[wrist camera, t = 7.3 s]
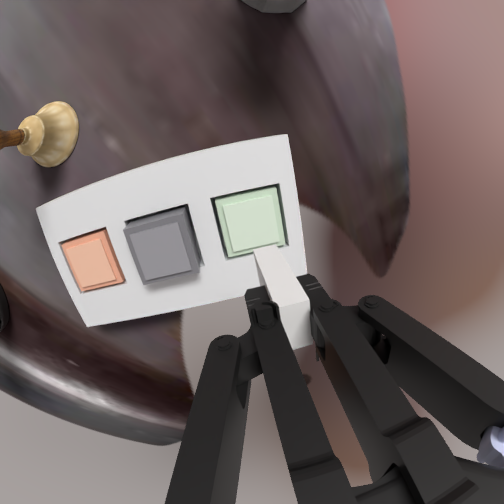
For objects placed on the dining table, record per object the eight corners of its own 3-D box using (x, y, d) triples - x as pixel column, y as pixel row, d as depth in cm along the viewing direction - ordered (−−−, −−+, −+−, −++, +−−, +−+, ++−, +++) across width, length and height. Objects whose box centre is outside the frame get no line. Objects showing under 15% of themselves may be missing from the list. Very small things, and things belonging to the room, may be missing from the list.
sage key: (227, 246, 31) (228, 258, 28) (214, 195, 28) (215, 201, 25) (278, 234, 31) (286, 245, 28) (270, 183, 29) (277, 188, 26)
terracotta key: (90, 279, 30) (80, 292, 27) (72, 235, 27) (60, 246, 24) (129, 269, 30) (122, 283, 27) (112, 222, 28) (102, 232, 25)
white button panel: (97, 307, 33) (87, 326, 29) (54, 199, 27) (35, 208, 23) (296, 263, 35) (307, 280, 31) (276, 135, 28) (287, 134, 24)
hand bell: (88, 142, 25) (-1, 154, 11) (42, 179, 26) (-45, 215, 11) (66, 88, 22) (-21, 69, 7) (22, 128, 22) (-66, 138, 8)
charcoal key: (148, 271, 29) (142, 286, 26) (131, 220, 26) (121, 231, 23) (200, 259, 29) (199, 273, 26) (185, 206, 26) (182, 214, 23)
